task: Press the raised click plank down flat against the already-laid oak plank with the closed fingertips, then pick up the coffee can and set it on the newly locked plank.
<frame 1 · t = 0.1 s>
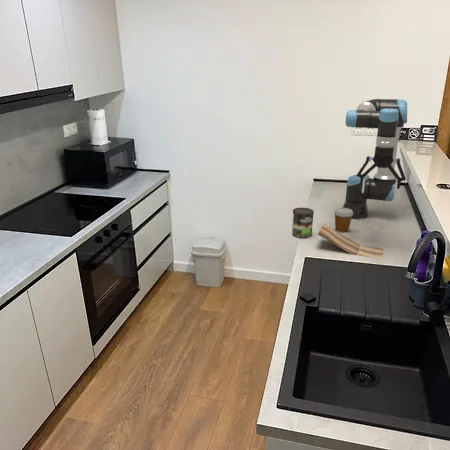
hand: (378, 193, 191), 28 cm above the worktop, fingers open, 13 cm apart
laid plank: (370, 254, 197), on the worktop
coffee can: (301, 237, 217), on the worktop
click plank: (339, 239, 201), point 5 cm above the worktop, hinge at 25.0°
disposable coffee cup: (341, 232, 223), on the worktop
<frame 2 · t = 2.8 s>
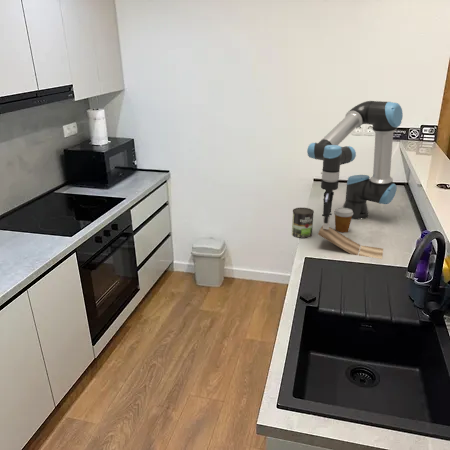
hand: (325, 228, 201), 10 cm above the worktop, fingers closed
click plank: (339, 239, 201), point 5 cm above the worktop, hinge at 25.0°, touching gripper
everything else where it was.
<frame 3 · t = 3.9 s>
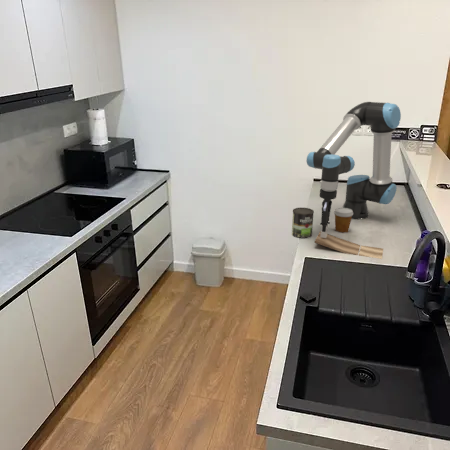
hand: (323, 237, 203), 5 cm above the worktop, fingers closed
click plank: (337, 243, 202), point 3 cm above the worktop, hinge at 12.3°, touching gripper
everything else where it was.
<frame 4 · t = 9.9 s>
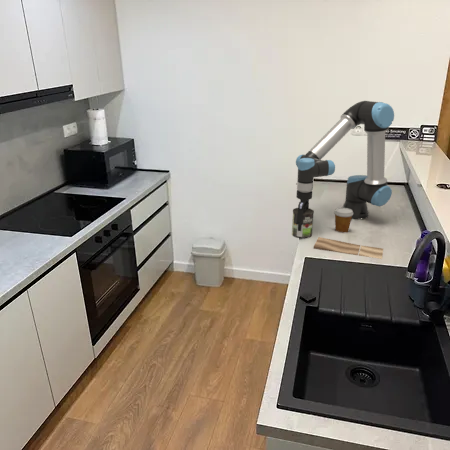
hand: (301, 232, 217), 2 cm above the worktop, fingers closed on coffee can, 10 cm apart
coffee can: (301, 237, 217), on the worktop, touching gripper
click plank: (337, 246, 202), point 1 cm above the worktop, hinge at 3.5°
everything else where it was.
when the fingers open (5 cm above the worktop, at t = 16.2 s): coffee can stays where it is, resting on click plank.
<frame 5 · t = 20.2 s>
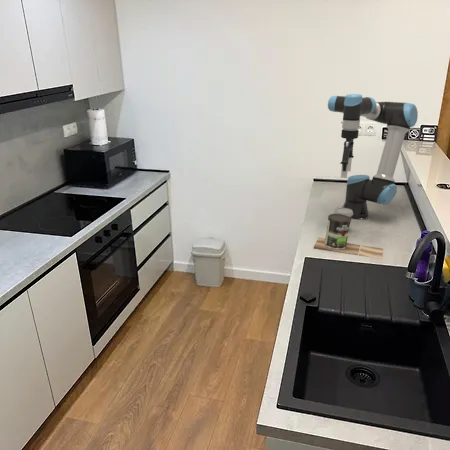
hand: (345, 174, 204), 33 cm above the worktop, fingers open, 13 cm apart
coffee can: (335, 245, 203), point 2 cm above the worktop, touching click plank
click plank: (337, 247, 202), point 1 cm above the worktop, hinge at 2.8°, touching coffee can
everything else where it was.
at the end: click plank at +3° (first picture: +25°); coffee can inside the target area (1.0 cm from its centre), point 1.6 cm above the worktop; coffee can tilted 3° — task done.
